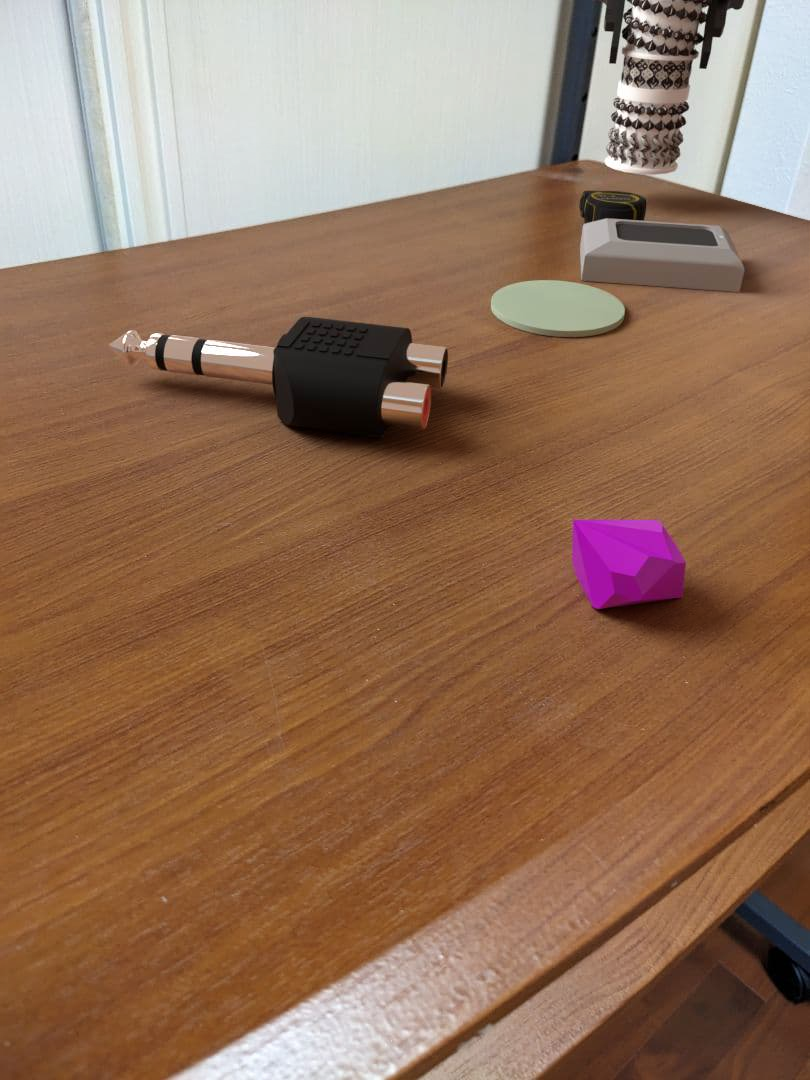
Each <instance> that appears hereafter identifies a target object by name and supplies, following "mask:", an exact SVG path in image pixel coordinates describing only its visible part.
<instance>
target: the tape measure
mask: <svg viewBox="0 0 810 1080" xmlns="http://www.w3.org/2000/svg"><path fill="white" fill-rule="evenodd" d="M581 194H582V195H581V197H580V198H579V205H578V207H579V214H580V217H581V218H583V223H584V224H586V223H590V222H594V221H598V220H602V219H606V218H609V219H624V220H639V221H645V218H646V213H647V199H646V198H645V197H644V196H642V195H640V194H637V193H634V192H633V193H632V192H628V191H621V190H620V191H619V190H584V191H583V192H582V193H581Z"/></svg>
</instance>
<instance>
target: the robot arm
mask: <svg viewBox="0 0 810 1080" xmlns="http://www.w3.org/2000/svg"><path fill="white" fill-rule="evenodd" d="M592 2H593V3H595V4H599V3H603V4H605V12H604V14H605V15H604V20H603V30H604V32H608V33H609V32H610V33H612V35H611V37H612V38H611V43H610V52H609V60H608V64H613V65H616V64H617V60H618V53H619V46H620V40H621V34H622V26H623V20H624V18H623V15H624V13H625V5H626V0H592ZM744 3H745V0H712V3H711V5H709V6H707V11H706V14H707V15H708V19H707V21H706V22H704V28H703V35H702V36H703V41H702V45H701V53H700V60H699V66H698V67H699V69H701V70H707V69H708V64H709V60H710V57H711V53H712V46H713V40H714V38H721V37H722V35H723V34H724V30H725V27H726V21H727V20H726V19H727V12H728V11H729V10H731V9H733V10H735V11H738V10H741V9H742V8H743V6H744Z"/></svg>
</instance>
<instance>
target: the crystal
mask: <svg viewBox="0 0 810 1080" xmlns="http://www.w3.org/2000/svg"><path fill="white" fill-rule="evenodd" d="M571 548H572V549H571V562H572V567H573V571H574V574H575V577H576V579H577V581H578V583H579V584H580V587H581V588H582V590H583V592H584V594H585V596H586V598H587V597H588V598H587V600H588V599H589V600H588V602H589V601H590V602H591V604H592V606H593V607H594V608H593V607H592V606H591V607H592V608H593V609H597V610H600V609H601V610H602V609H609V608H616V607H625V606H630V605H636V604H637V605H638V604H645V602H646V603H653V602H659V600H660V601H666V599H667V600H673V598H675V599H681V598H680V597H682V596H683V595H684V588H685V587H684V586H685V574H686V565H687V562H686V560H685V558H684V557H683V554H682V552H681V551H680V549H679V547H678V545H677V544H676V542H675V541H674V539H673V538H672V537H671V535H670V533H669V532H668V530H667V529H666V528H665V525H664V524H663V523H661V522H660V521H659V520H658V519H572V541H571ZM682 598H683V597H682ZM652 601H653V602H652ZM590 602H589V603H590ZM591 604H590V605H591Z"/></svg>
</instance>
